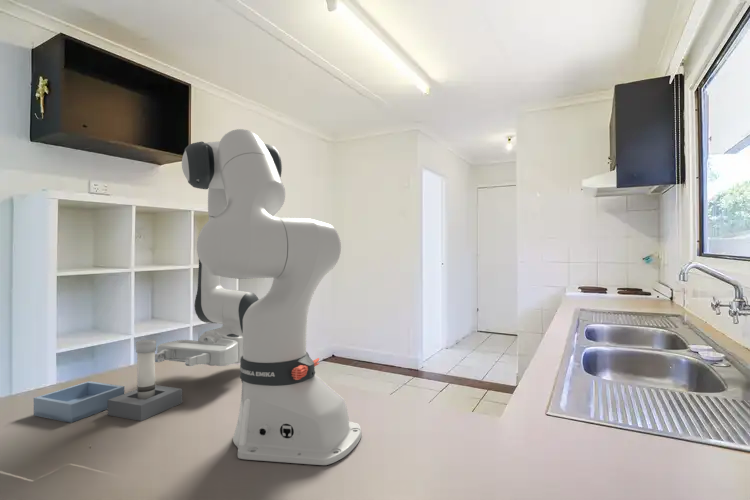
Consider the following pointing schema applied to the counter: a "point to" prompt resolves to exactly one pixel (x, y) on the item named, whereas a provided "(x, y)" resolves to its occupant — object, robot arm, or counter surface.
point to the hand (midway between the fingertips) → (171, 360)
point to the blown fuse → (145, 368)
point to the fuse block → (144, 403)
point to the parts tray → (76, 401)
